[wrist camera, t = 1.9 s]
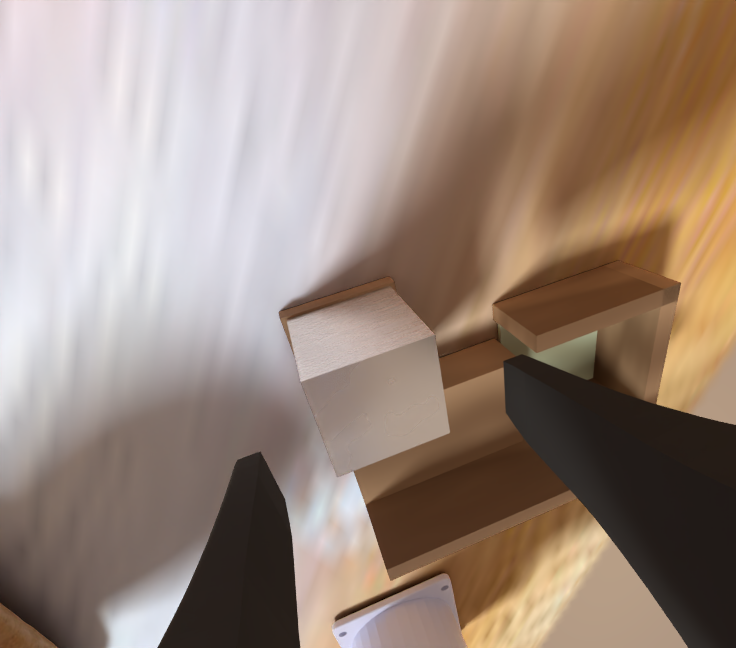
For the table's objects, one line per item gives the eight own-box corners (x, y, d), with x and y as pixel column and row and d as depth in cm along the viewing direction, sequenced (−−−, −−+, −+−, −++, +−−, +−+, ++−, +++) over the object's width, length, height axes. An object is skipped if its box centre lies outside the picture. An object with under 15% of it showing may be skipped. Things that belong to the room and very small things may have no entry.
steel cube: (407, 369, 17) (449, 432, 13) (317, 402, 16) (337, 477, 13) (389, 285, 15) (435, 334, 11) (286, 319, 14) (300, 381, 11)
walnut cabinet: (604, 383, 22) (693, 447, 17) (345, 486, 20) (373, 588, 15) (625, 199, 17) (758, 225, 12) (278, 311, 14) (294, 390, 10)
